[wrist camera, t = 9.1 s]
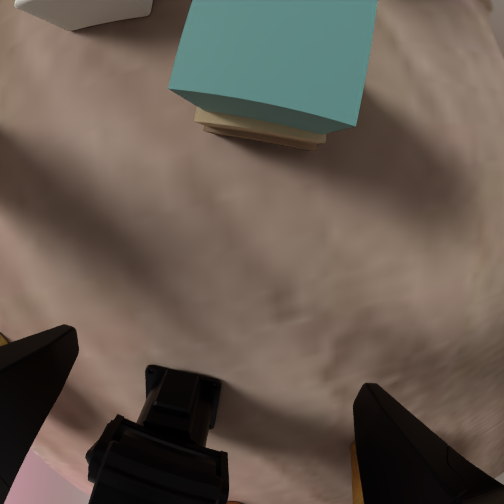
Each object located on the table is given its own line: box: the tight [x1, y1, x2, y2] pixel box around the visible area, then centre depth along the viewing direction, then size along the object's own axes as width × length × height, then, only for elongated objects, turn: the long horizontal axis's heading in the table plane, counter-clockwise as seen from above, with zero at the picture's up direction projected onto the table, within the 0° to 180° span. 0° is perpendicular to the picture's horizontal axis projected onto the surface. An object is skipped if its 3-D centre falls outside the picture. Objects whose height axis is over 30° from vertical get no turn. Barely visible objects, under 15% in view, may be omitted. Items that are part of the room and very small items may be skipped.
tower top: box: [194, 107, 327, 144], centre depth 13 cm, size 6×6×4 cm
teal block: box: [168, 0, 377, 135], centre depth 9 cm, size 5×5×5 cm
